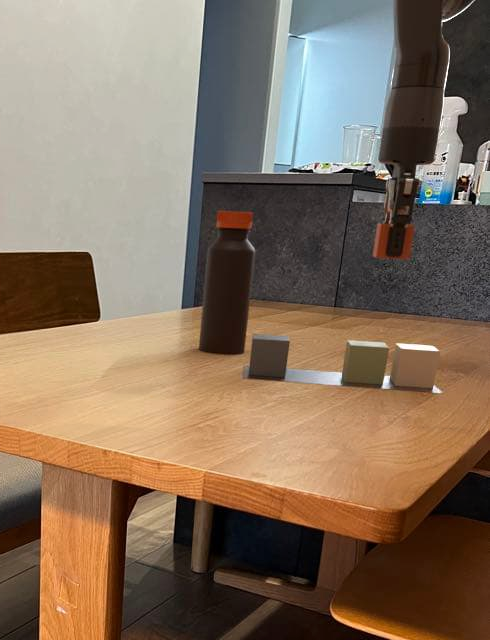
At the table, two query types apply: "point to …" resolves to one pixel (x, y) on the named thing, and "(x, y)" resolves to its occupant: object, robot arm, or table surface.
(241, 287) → the bottle
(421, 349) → the cream block
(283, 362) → the slate block
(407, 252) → the terracotta block
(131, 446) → the table surface
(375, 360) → the sage block
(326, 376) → the light grey flat plate
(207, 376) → the table surface
